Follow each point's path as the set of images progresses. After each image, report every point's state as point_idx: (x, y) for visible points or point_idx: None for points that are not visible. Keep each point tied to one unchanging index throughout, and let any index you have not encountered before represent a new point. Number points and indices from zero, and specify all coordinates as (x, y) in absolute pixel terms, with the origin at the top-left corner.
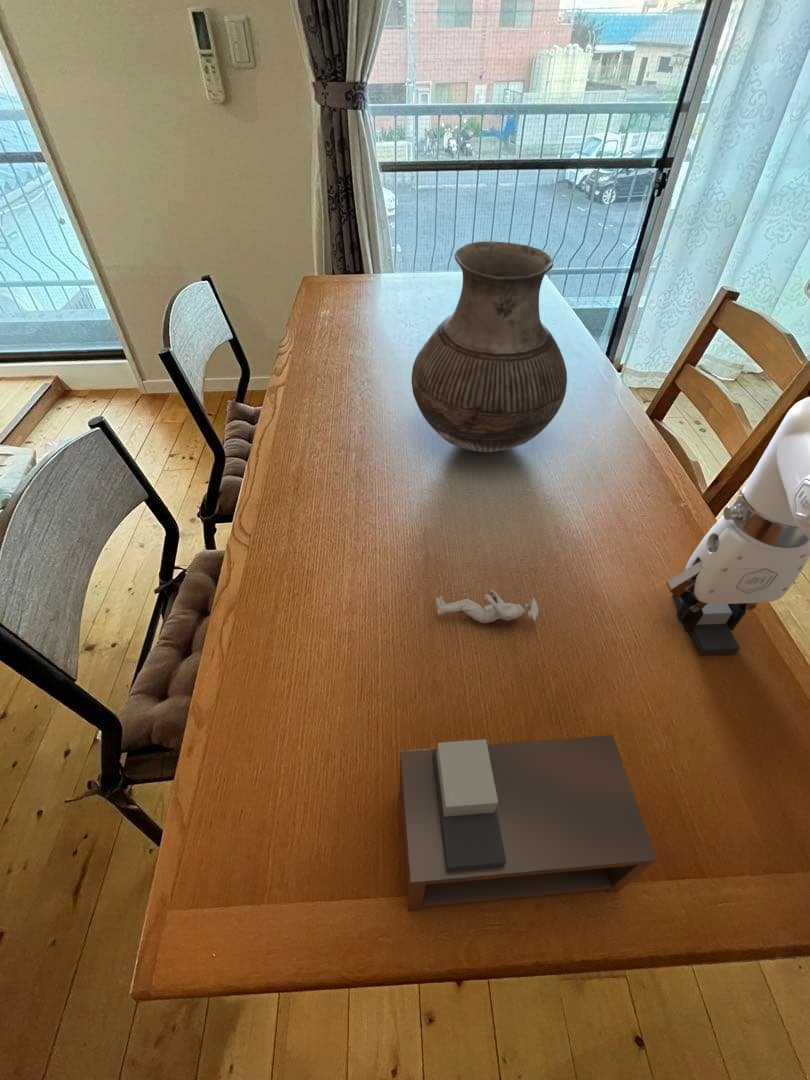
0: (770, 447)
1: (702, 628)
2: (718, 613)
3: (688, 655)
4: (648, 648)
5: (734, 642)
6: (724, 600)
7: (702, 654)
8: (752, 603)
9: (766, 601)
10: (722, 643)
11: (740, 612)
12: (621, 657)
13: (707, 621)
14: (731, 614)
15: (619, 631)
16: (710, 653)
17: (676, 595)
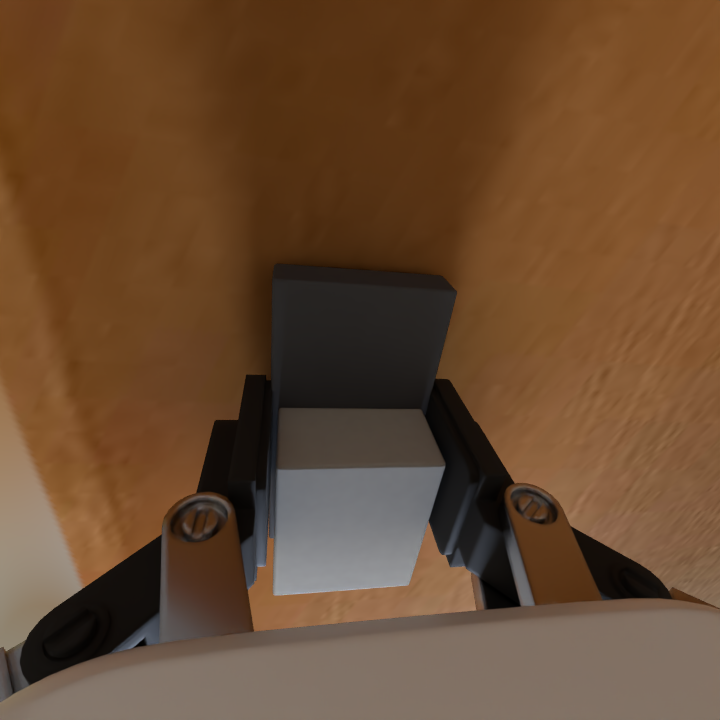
0: None
1: (394, 391)
2: (354, 466)
3: (479, 280)
4: (601, 325)
5: (286, 313)
6: (642, 672)
7: (437, 275)
8: (198, 556)
9: (159, 674)
10: (350, 313)
11: (255, 478)
12: (716, 299)
13: (375, 422)
14: (279, 459)
15: (638, 394)
16: (402, 275)
17: (698, 600)
